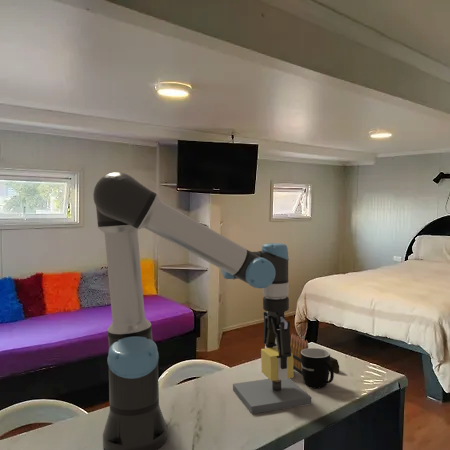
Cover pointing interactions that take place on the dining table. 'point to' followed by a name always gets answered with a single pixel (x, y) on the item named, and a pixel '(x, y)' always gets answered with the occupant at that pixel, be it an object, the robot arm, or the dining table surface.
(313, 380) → the mug
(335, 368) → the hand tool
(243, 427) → the dining table surface
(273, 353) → the mustard yellow cube
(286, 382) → the board
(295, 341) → the ammunition clip
